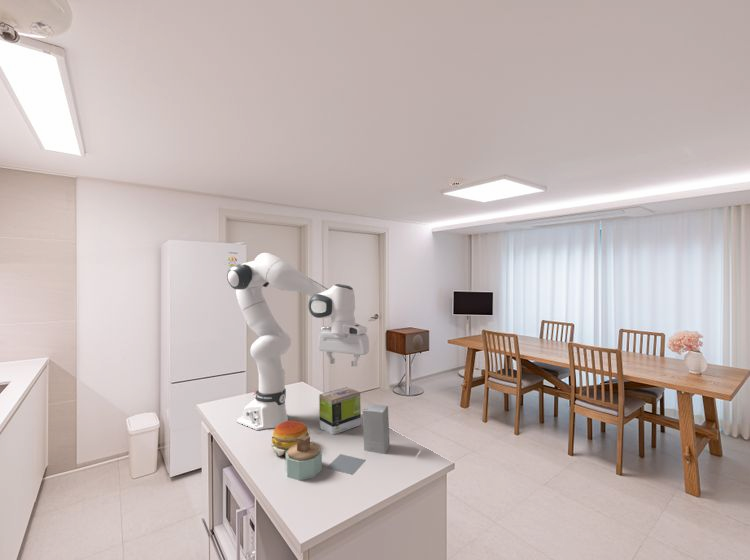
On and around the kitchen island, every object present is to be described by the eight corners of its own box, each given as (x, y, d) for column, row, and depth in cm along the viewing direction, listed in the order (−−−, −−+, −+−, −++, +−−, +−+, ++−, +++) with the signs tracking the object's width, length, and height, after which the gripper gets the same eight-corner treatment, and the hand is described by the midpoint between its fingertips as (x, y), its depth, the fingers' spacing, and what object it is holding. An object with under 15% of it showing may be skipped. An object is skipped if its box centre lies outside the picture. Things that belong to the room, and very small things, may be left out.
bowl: (279, 475, 111) (279, 456, 111) (299, 459, 121) (299, 442, 121) (307, 483, 106) (308, 464, 107) (326, 466, 117) (327, 448, 117)
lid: (281, 456, 111) (281, 440, 111) (300, 443, 120) (300, 428, 120) (307, 463, 107) (307, 447, 107) (324, 448, 116) (324, 434, 116)
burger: (315, 445, 132) (315, 418, 132) (294, 462, 119) (294, 433, 119) (286, 438, 137) (286, 413, 137) (263, 454, 124) (263, 426, 124)
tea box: (347, 419, 157) (347, 386, 157) (361, 426, 149) (361, 391, 149) (318, 428, 147) (318, 393, 147) (332, 436, 140) (332, 399, 140)
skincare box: (389, 447, 130) (390, 405, 130) (384, 456, 124) (384, 411, 124) (368, 443, 133) (368, 402, 133) (361, 452, 126) (362, 408, 126)
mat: (325, 469, 115) (325, 467, 115) (340, 455, 124) (340, 454, 124) (352, 475, 111) (352, 474, 111) (365, 461, 120) (365, 459, 120)
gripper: (314, 327, 131) (314, 363, 131) (363, 330, 123) (363, 369, 123) (323, 325, 137) (323, 360, 137) (371, 328, 129) (370, 365, 129)
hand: (342, 364), depth 130 cm, fingers open, 8 cm apart
